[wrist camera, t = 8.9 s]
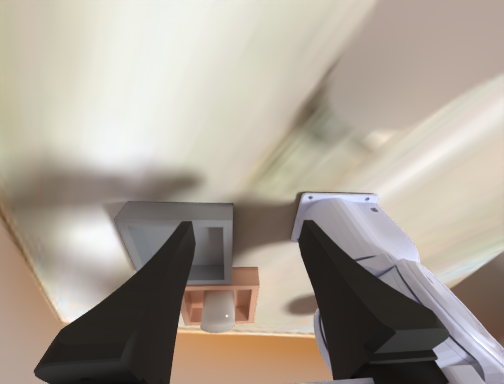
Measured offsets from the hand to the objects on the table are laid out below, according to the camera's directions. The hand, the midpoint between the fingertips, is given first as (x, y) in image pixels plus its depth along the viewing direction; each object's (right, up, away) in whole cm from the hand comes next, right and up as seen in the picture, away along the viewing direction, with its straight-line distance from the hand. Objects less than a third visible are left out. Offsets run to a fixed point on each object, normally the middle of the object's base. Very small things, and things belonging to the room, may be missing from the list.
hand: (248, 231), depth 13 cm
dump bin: (-5, -14, +20) cm, 25 cm away
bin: (-8, -4, +13) cm, 16 cm away
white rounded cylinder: (-5, -14, +20) cm, 25 cm away
